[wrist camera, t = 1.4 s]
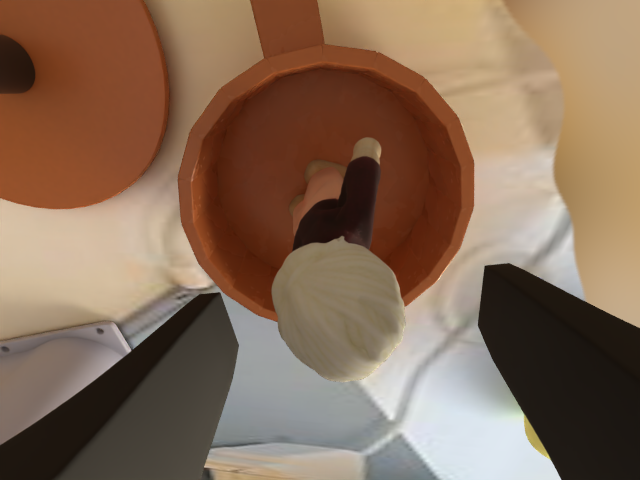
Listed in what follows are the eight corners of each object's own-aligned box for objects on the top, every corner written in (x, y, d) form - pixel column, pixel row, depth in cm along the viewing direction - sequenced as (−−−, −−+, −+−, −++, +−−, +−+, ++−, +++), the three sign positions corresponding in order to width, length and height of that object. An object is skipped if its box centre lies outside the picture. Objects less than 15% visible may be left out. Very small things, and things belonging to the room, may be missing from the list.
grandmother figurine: (334, 253, 20) (369, 470, 9) (275, 238, 20) (229, 448, 8) (379, 131, 17) (523, 217, 6) (310, 109, 17) (315, 154, 5)
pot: (259, 329, 23) (248, 382, 19) (148, 28, 15) (86, 5, 11) (442, 295, 22) (473, 342, 18) (427, -41, 14) (476, -95, 10)
